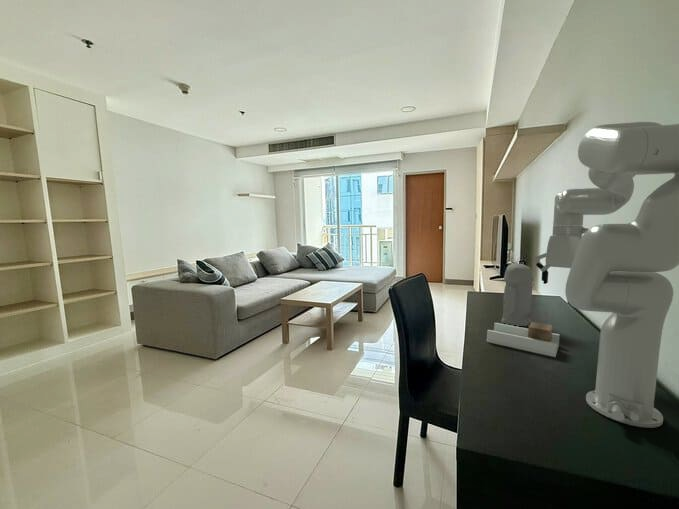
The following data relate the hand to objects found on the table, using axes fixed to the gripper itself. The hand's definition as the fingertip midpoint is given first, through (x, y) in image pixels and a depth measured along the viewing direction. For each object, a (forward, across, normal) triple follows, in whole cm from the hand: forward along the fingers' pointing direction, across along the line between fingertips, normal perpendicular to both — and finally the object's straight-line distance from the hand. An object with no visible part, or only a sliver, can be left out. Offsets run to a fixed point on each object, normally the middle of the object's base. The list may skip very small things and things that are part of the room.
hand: (563, 285), depth 99 cm
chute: (+22, +10, +1) cm, 24 cm away
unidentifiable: (+22, +18, -23) cm, 36 cm away
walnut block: (+20, +5, +1) cm, 21 cm away
